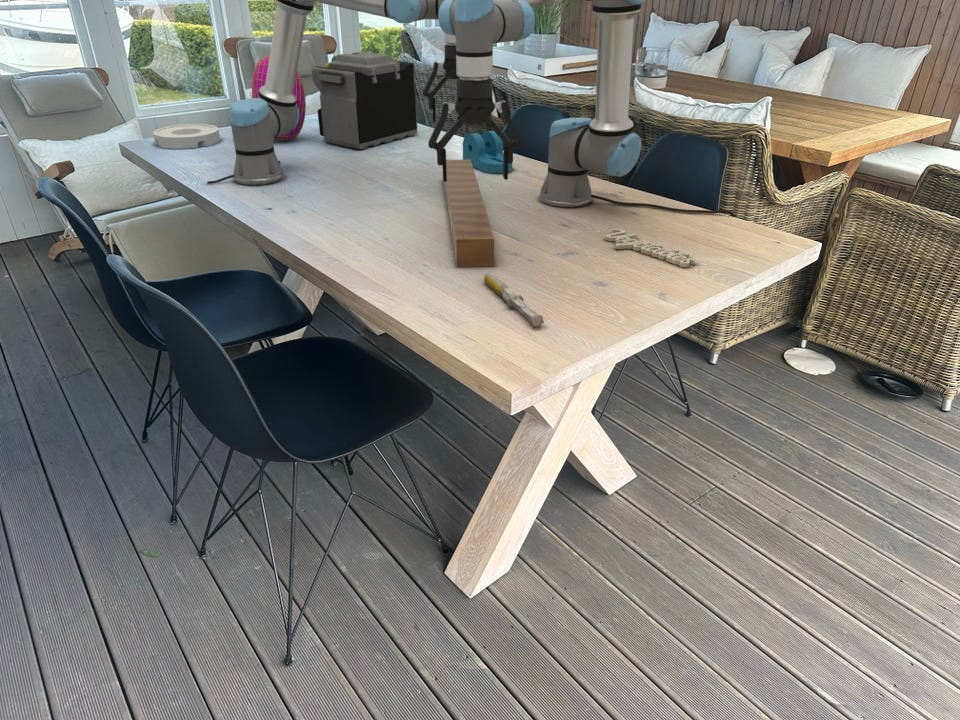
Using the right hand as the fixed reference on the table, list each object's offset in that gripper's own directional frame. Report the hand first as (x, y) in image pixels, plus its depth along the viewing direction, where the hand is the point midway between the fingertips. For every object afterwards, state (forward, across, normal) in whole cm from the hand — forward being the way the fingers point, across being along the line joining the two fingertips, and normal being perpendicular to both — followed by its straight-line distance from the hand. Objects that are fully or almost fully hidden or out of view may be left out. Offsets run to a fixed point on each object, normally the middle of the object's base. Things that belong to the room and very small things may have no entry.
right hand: (475, 178), depth 153 cm
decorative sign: (+20, -42, -3) cm, 47 cm away
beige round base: (+19, +100, -123) cm, 159 cm away
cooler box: (+20, +32, -125) cm, 130 cm away
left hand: (+1, +1, -62) cm, 62 cm away
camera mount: (+20, -11, -82) cm, 85 cm away
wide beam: (+20, +1, -30) cm, 36 cm away
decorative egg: (+20, +64, -124) cm, 141 cm away
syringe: (+19, -6, +25) cm, 32 cm away
